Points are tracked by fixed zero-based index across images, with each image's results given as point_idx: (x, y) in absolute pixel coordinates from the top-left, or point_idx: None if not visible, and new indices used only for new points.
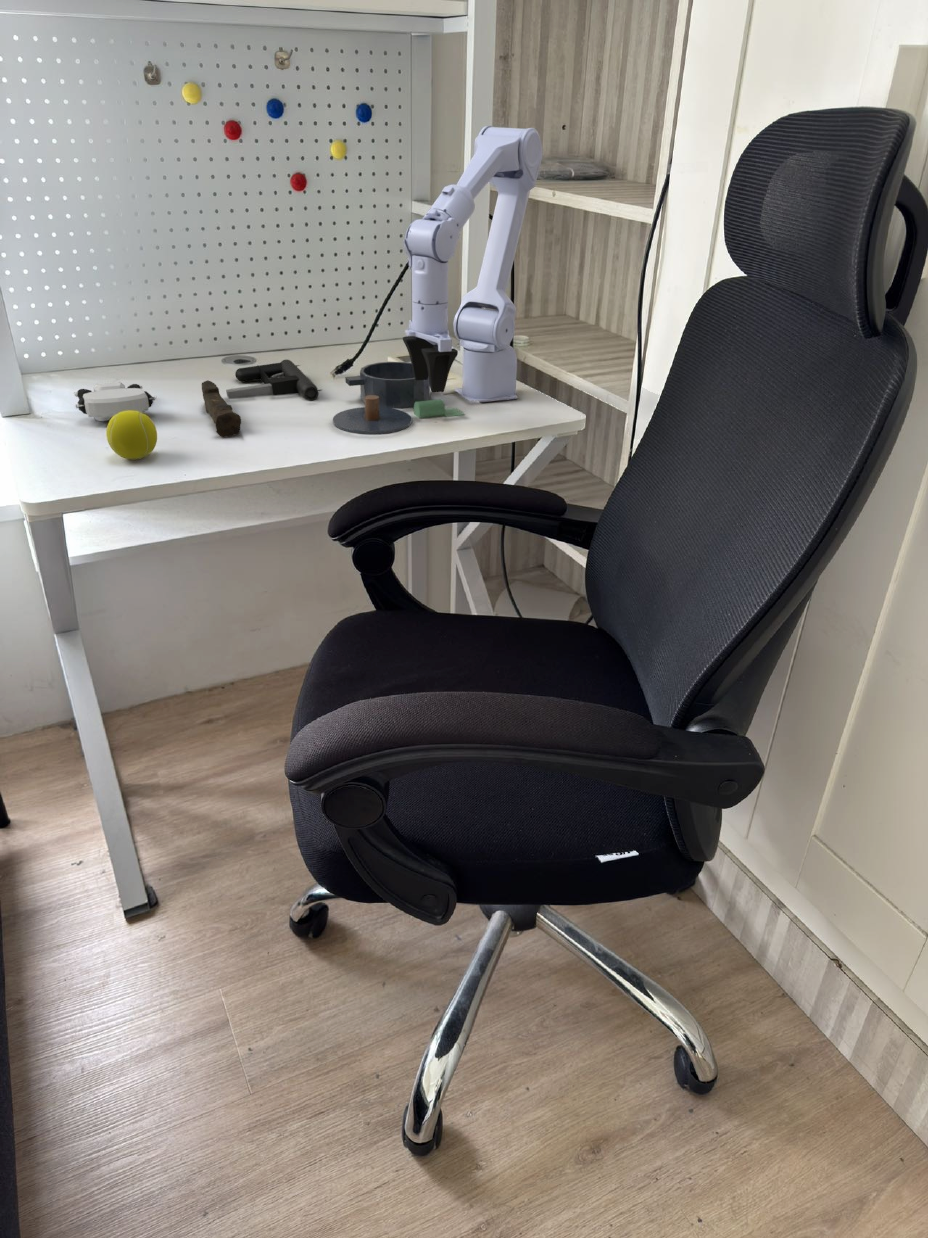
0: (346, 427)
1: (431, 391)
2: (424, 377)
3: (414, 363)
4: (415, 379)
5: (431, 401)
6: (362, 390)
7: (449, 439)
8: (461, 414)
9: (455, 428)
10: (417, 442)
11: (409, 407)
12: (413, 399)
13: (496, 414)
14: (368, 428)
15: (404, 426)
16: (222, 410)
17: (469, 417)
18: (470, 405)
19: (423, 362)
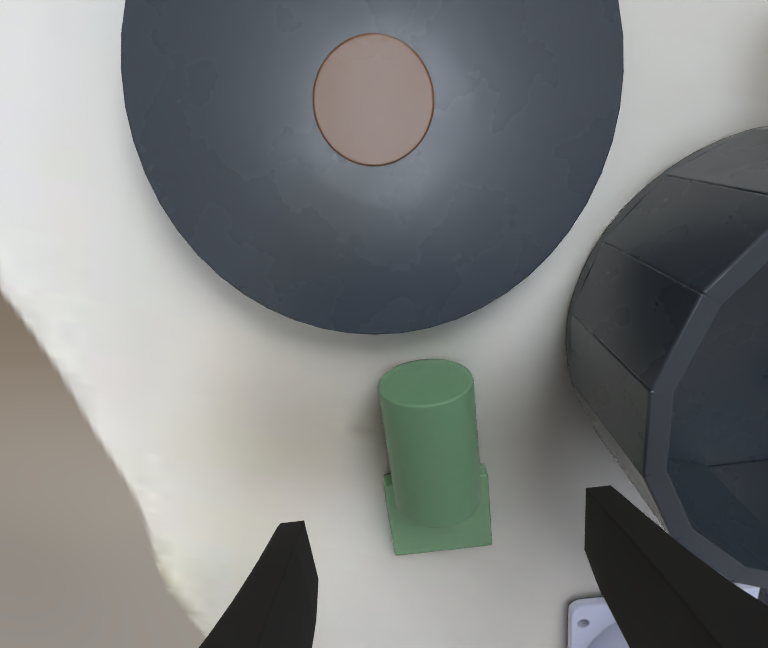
0: None
1: (296, 522)
2: (589, 545)
3: (652, 576)
4: (603, 486)
5: (426, 476)
6: None
7: (115, 433)
8: (393, 545)
9: (264, 484)
10: (68, 292)
11: (570, 361)
12: (586, 401)
13: (416, 644)
14: (177, 40)
15: (214, 270)
16: None
17: (400, 559)
18: (555, 593)
19: (650, 637)
